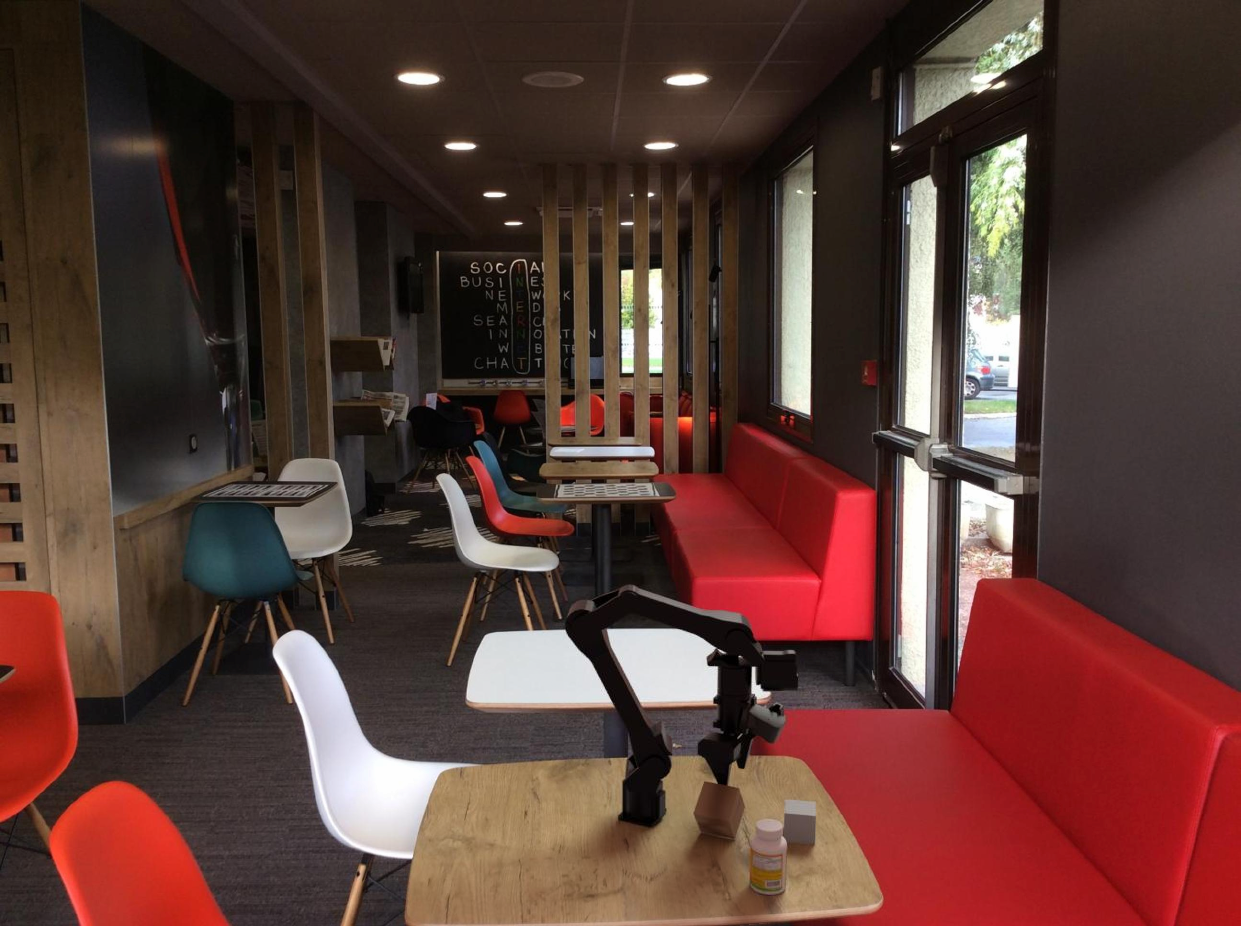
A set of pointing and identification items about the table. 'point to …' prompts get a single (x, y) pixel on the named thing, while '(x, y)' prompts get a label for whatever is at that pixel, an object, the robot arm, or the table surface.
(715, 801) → the walnut cube
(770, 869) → the supplement bottle
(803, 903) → the table surface
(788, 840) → the grey cube
